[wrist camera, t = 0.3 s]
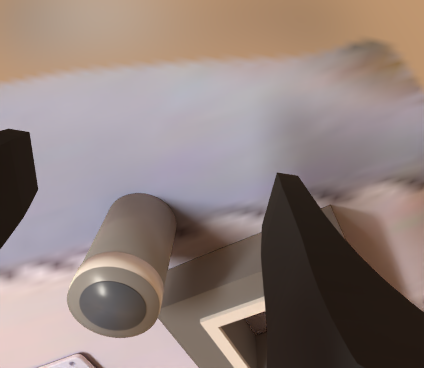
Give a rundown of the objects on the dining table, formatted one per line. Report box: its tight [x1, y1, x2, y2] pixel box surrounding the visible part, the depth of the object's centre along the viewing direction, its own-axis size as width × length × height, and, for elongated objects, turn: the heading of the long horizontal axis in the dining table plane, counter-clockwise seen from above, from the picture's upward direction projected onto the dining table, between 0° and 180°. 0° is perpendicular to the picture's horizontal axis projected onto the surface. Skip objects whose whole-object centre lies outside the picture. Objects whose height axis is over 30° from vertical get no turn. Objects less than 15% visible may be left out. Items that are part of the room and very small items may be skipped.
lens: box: [67, 193, 177, 338], centre depth 22 cm, size 4×4×7 cm
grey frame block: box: [158, 205, 346, 368], centre depth 26 cm, size 12×11×4 cm
